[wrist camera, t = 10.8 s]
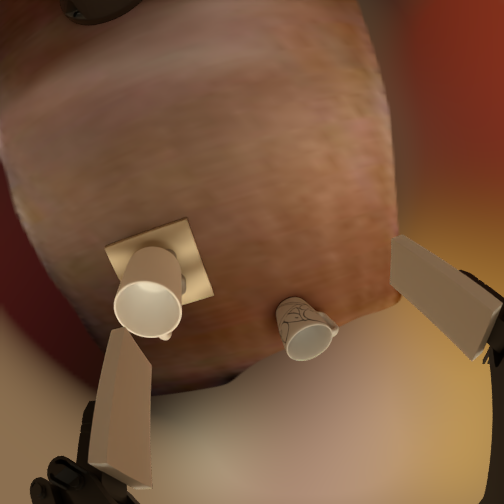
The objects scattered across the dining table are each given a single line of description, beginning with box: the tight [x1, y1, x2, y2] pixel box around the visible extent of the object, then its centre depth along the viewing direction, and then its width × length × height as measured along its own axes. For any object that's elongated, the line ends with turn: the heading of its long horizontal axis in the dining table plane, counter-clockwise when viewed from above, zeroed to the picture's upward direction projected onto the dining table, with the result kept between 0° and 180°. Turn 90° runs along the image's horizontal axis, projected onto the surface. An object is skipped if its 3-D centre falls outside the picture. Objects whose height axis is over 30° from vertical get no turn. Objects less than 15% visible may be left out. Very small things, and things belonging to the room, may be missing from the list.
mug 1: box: [114, 247, 182, 340], centre depth 35 cm, size 12×8×10 cm
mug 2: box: [276, 297, 339, 361], centre depth 48 cm, size 11×8×10 cm
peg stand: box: [104, 217, 214, 305], centre depth 42 cm, size 14×14×4 cm
